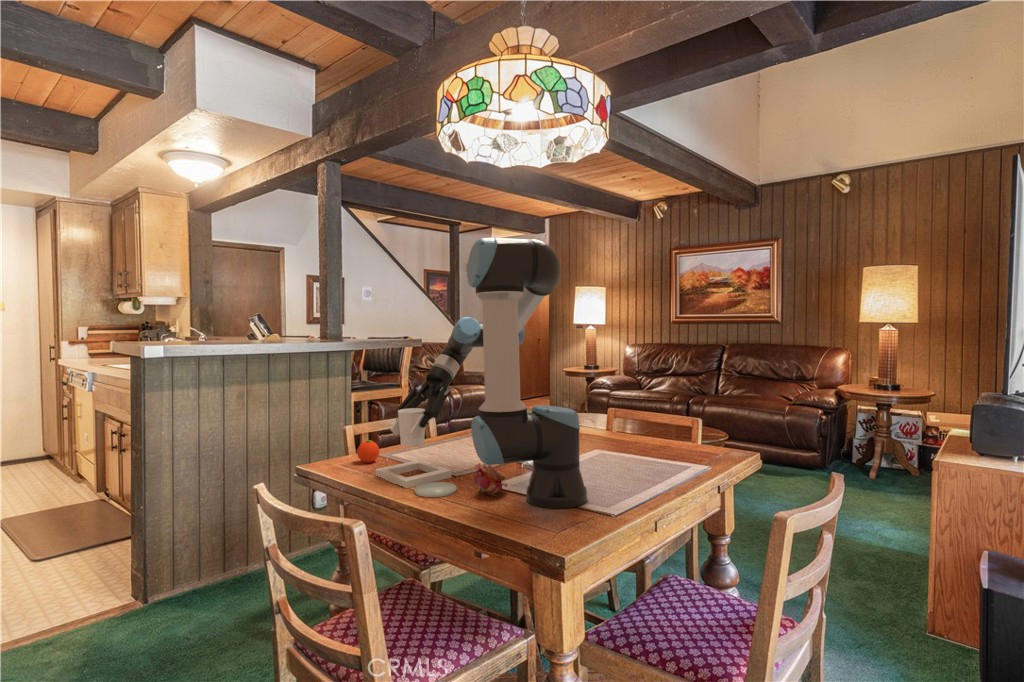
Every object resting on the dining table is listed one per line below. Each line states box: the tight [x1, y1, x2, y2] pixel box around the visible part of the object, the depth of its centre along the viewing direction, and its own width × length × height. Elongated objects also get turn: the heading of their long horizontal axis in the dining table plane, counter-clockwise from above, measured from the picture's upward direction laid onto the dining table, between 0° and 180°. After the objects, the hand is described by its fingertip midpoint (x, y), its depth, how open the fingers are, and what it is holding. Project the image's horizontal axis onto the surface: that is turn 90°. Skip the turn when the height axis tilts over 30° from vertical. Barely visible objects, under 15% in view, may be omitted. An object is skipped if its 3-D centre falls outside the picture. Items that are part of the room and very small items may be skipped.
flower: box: [472, 462, 509, 497], centre depth 143 cm, size 10×9×8 cm
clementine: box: [356, 439, 380, 464], centre depth 178 cm, size 8×7×7 cm
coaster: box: [414, 481, 457, 498], centre depth 146 cm, size 11×11×1 cm
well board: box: [375, 459, 452, 489], centre depth 160 cm, size 17×15×2 cm
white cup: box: [397, 407, 426, 448], centre depth 160 cm, size 8×8×10 cm
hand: (403, 434), depth 157 cm, fingers closed on white cup, 7 cm apart
